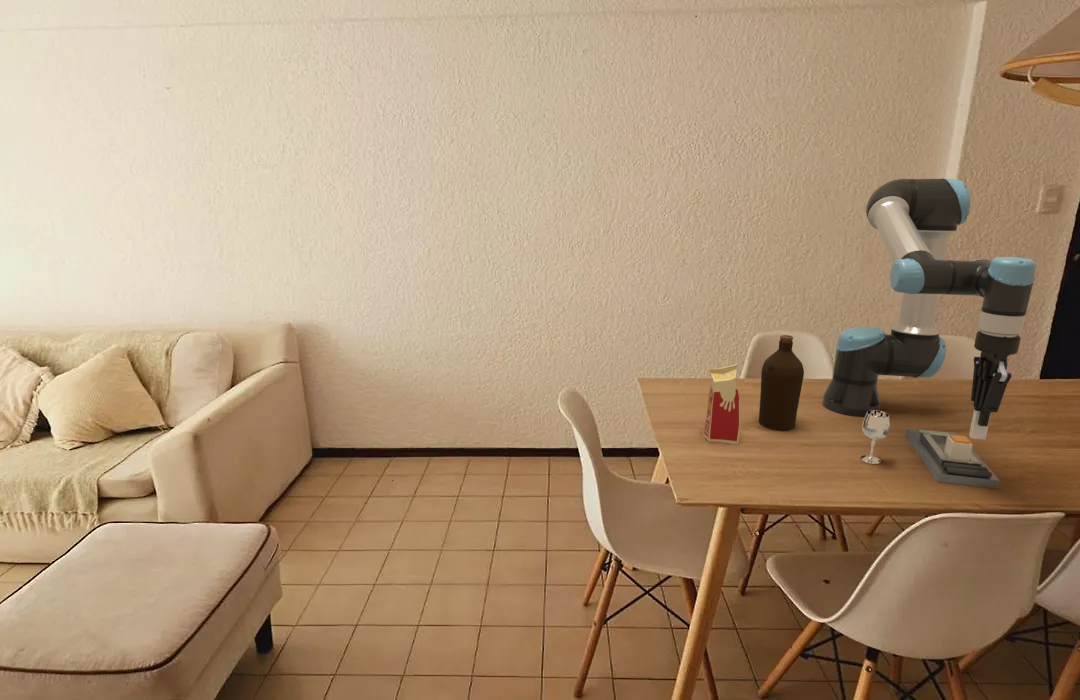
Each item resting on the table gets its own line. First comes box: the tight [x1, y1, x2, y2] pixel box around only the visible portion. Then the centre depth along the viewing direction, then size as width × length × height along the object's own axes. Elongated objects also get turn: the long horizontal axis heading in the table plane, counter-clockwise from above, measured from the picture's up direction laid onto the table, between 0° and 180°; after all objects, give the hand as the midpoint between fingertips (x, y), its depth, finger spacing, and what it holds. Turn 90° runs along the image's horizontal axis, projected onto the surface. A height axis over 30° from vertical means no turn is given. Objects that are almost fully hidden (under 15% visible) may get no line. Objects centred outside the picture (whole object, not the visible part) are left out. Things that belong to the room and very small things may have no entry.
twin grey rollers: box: [943, 463, 992, 478], centre depth 141 cm, size 9×4×1 cm, turn 75°
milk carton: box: [702, 363, 742, 445], centre depth 163 cm, size 9×9×20 cm
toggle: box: [944, 435, 974, 461], centre depth 147 cm, size 4×4×6 cm
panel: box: [904, 427, 1001, 489], centre depth 152 cm, size 12×26×3 cm, turn 165°
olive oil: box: [758, 334, 805, 432], centre depth 169 cm, size 11×11×25 cm
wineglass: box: [859, 410, 891, 465], centre depth 151 cm, size 6×6×12 cm
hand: (977, 437), depth 137 cm, fingers closed
